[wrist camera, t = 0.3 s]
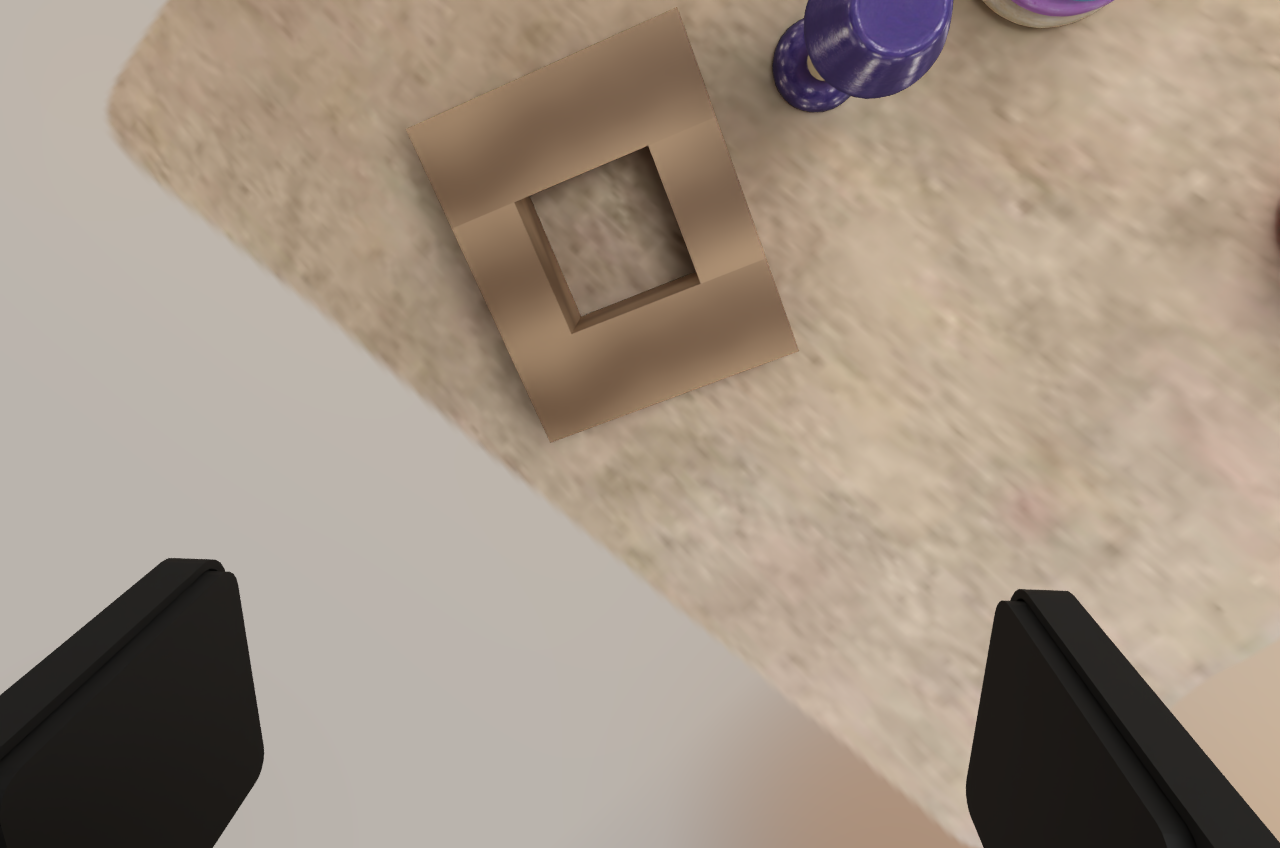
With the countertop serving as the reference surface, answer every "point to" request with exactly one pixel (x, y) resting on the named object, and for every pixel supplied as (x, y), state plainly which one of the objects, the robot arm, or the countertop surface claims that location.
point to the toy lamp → (858, 50)
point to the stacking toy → (1045, 11)
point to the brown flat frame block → (526, 265)
